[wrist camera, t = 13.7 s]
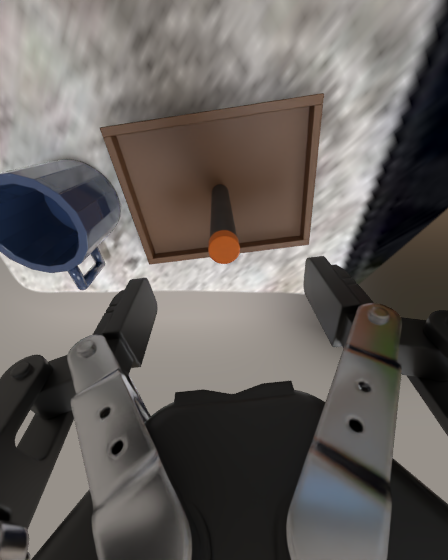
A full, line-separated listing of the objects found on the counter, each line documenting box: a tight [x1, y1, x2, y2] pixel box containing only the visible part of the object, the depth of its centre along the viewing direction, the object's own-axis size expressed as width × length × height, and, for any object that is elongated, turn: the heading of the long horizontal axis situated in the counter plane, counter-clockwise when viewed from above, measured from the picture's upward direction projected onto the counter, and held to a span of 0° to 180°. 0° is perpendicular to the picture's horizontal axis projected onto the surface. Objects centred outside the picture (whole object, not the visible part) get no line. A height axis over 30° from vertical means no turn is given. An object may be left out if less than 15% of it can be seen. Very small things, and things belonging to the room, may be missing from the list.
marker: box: [208, 184, 240, 264], centre depth 21 cm, size 2×2×15 cm
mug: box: [0, 159, 120, 290], centre depth 25 cm, size 13×9×9 cm
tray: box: [100, 93, 324, 264], centre depth 27 cm, size 16×22×2 cm
